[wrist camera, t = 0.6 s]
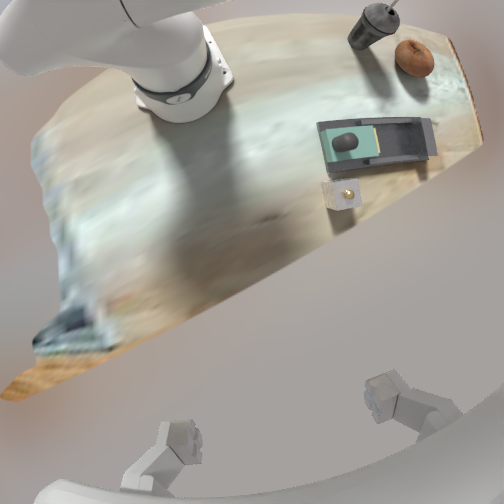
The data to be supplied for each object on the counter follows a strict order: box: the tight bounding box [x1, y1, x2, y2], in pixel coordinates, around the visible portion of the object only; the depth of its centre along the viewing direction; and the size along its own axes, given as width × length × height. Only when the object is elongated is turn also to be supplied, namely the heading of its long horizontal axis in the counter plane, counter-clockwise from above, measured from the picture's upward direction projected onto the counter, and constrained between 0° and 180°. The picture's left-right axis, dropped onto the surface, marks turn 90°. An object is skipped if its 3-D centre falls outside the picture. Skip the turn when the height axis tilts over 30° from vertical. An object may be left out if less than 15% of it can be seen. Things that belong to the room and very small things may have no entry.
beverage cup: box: [348, 0, 400, 50], centre depth 32 cm, size 7×7×20 cm
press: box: [316, 117, 437, 173], centre depth 45 cm, size 10×26×6 cm, turn 102°
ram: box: [321, 125, 380, 163], centre depth 43 cm, size 6×11×8 cm, turn 102°
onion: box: [395, 40, 434, 77], centre depth 39 cm, size 10×9×10 cm
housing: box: [321, 178, 362, 211], centre depth 47 cm, size 5×5×7 cm
